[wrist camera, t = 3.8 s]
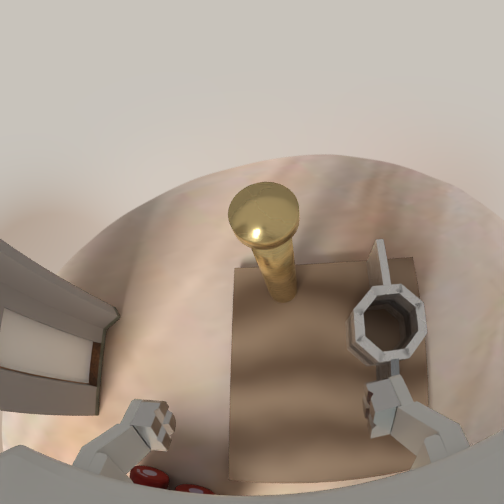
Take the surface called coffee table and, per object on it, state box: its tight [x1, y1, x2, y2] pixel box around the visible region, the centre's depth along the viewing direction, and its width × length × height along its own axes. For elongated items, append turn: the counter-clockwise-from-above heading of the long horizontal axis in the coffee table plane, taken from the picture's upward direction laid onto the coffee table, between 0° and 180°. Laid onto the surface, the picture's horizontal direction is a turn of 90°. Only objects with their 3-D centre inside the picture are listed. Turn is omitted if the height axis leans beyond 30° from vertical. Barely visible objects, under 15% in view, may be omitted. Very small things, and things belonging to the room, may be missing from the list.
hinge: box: [345, 239, 427, 380], centre depth 23 cm, size 15×6×5 cm, turn 179°
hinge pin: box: [228, 182, 299, 303], centre depth 23 cm, size 4×4×14 cm
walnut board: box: [229, 257, 428, 483], centre depth 25 cm, size 22×19×1 cm
